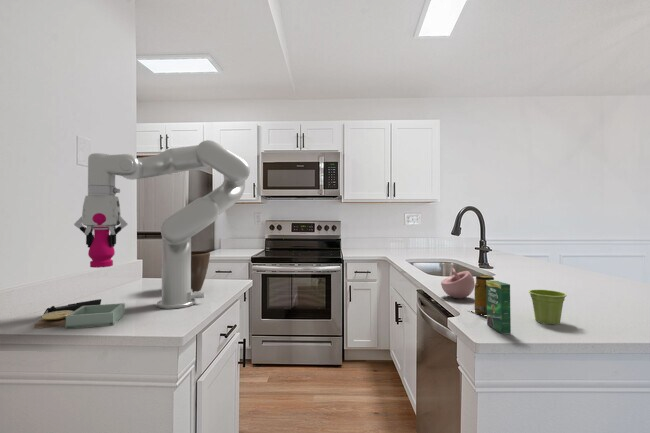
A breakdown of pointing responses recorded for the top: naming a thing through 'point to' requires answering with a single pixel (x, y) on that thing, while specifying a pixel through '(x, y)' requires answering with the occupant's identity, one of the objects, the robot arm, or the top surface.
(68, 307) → the electric trimmer
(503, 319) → the coffee box
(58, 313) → the gold disc
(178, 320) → the top surface
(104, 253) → the pepper mill
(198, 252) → the plant pot
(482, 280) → the condiment
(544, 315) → the plant pot
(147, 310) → the top surface
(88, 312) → the trough tray
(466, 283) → the mortar and pestle
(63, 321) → the checker plinth
